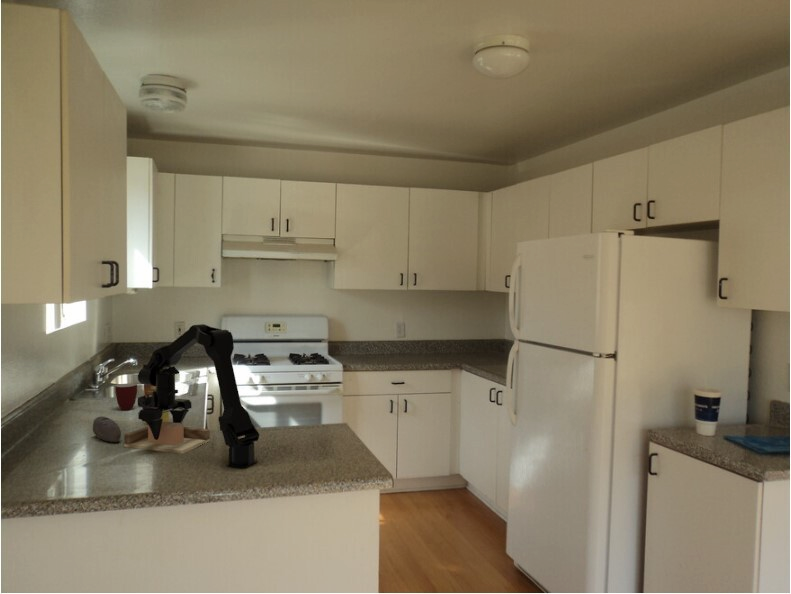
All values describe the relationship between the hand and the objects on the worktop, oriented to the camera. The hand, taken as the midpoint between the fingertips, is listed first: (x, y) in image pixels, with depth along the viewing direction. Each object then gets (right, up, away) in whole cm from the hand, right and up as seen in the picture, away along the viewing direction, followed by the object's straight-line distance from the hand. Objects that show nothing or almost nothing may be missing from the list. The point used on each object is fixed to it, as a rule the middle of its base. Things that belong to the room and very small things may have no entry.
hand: (166, 435), depth 191 cm
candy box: (-14, -3, +28) cm, 31 cm away
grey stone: (-22, -3, +7) cm, 23 cm away
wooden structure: (0, -3, +2) cm, 4 cm away
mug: (-37, -1, +52) cm, 64 cm away
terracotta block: (0, -2, 0) cm, 2 cm away
